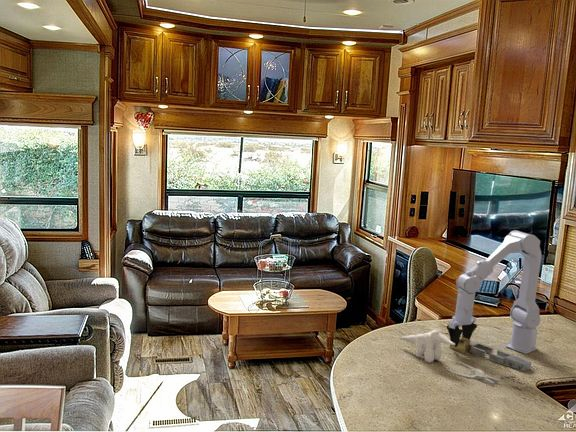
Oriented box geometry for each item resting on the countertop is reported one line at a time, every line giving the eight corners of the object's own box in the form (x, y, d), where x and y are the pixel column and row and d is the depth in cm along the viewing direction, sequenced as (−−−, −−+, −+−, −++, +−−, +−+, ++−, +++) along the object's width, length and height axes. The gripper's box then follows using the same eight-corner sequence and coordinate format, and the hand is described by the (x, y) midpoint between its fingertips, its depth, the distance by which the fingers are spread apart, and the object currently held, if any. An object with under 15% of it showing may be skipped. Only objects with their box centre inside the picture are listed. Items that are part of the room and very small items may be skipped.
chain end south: (462, 342, 194) (463, 336, 194) (492, 353, 185) (493, 347, 185) (453, 346, 190) (453, 339, 190) (483, 357, 181) (484, 351, 181)
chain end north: (498, 355, 184) (498, 349, 184) (531, 368, 175) (532, 361, 175) (488, 359, 180) (489, 353, 179) (523, 372, 171) (524, 365, 170)
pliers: (463, 360, 174) (504, 377, 163) (462, 364, 175) (504, 382, 163) (445, 366, 168) (487, 384, 157) (444, 370, 169) (486, 389, 157)
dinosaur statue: (447, 370, 166) (448, 336, 165) (390, 351, 185) (391, 320, 184) (460, 366, 170) (461, 333, 169) (403, 347, 189) (404, 317, 189)
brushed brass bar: (453, 346, 191) (455, 334, 190) (468, 351, 186) (470, 339, 185) (449, 347, 189) (450, 335, 188) (464, 353, 184) (465, 341, 183)
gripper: (465, 302, 193) (460, 336, 195) (443, 307, 184) (438, 344, 185) (482, 307, 188) (477, 343, 190) (461, 313, 178) (456, 351, 180)
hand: (459, 344), depth 187 cm, fingers open, 7 cm apart
